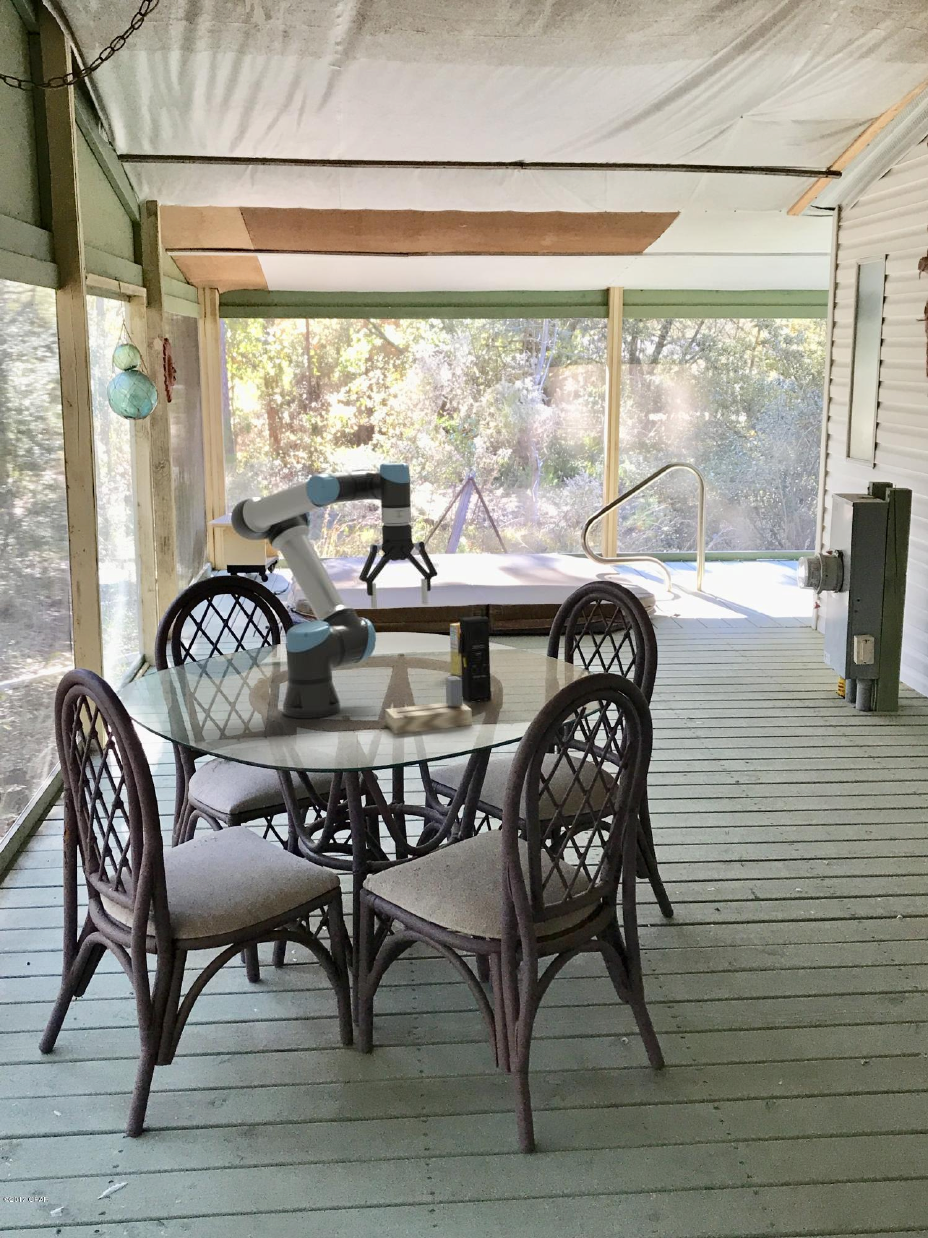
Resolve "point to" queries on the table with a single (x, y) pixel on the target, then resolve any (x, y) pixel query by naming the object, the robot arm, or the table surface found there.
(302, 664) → the robot arm
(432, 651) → the table surface
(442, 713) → the wooden block with slot
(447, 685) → the blue-grey rectangular block
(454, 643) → the candy box
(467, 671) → the portable radio
